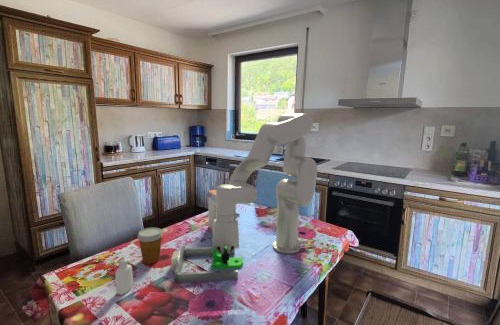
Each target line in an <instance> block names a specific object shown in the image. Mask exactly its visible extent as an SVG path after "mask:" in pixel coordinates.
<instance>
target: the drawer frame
mask: <svg viewBox="0 0 500 325" xmlns="http://www.w3.org/2000/svg"><path fill="white" fill-rule="evenodd" d="M226 248H227V246H226ZM235 249H236V248H234V249H233V250H232V251H231V252H230V254H229V255H235ZM217 253H218V254H221V252H220V251H219V250H218V251H217ZM199 256H213V248H212V246H205V247H203V246H202V247H186V245H182V246H181V249H180V251H173V253H172V256H171V258H170V260H171V261H170V264H171V266H170V267H171V269H170V270H171V272H172V273H174V283H175V284H178V283H179V284H180V283H197V282H198V283H200V282H213V281H214V282H215V281H216V282H217V281H233V280H234V281H235V280H238V279H239V272H238V271H239V270H238V269H224V270H210V271H192V272H191V271H190V272H189V271H188V272H187V271H186V272H182V270H183V266H184V262H185V257H199Z"/></svg>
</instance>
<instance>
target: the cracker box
mask: <svg viewBox="0 0 500 325" xmlns="http://www.w3.org/2000/svg"><path fill="white" fill-rule="evenodd" d="M207 199H208V229H209V230H210V232H212V233H213V223H214V219H216V189H210V190H208V198H207Z"/></svg>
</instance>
